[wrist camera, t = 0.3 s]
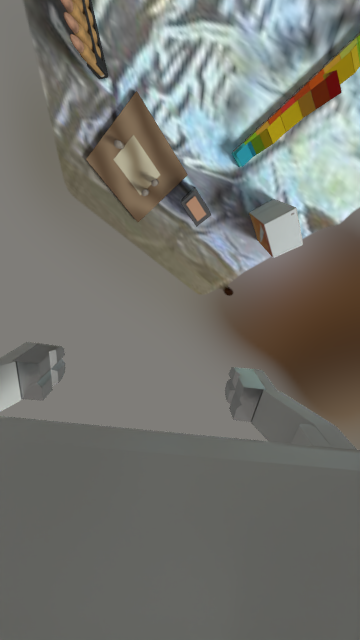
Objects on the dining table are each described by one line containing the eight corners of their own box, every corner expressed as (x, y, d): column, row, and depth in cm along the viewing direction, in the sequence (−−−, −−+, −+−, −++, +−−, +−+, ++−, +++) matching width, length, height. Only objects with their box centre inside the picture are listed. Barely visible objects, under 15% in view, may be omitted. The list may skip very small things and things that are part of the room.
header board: (138, 93, 38) (132, 84, 34) (187, 174, 45) (187, 175, 41) (88, 159, 44) (78, 158, 40) (139, 221, 52) (134, 225, 48)
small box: (248, 212, 49) (263, 224, 39) (273, 198, 47) (297, 206, 37) (257, 241, 53) (273, 258, 43) (281, 229, 51) (304, 244, 41)
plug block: (195, 187, 46) (195, 189, 41) (208, 209, 49) (211, 215, 44) (181, 199, 48) (180, 203, 42) (195, 220, 51) (196, 226, 45)
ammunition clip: (108, 77, 37) (79, 45, 27) (99, 79, 37) (67, 48, 27) (84, -29, 30) (36, -120, 21) (73, -26, 30) (20, -114, 21)
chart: (405, -12, 30) (544, -128, 18) (407, 16, 32) (537, -75, 20) (231, 152, 43) (246, 146, 31) (238, 166, 44) (255, 166, 32)
